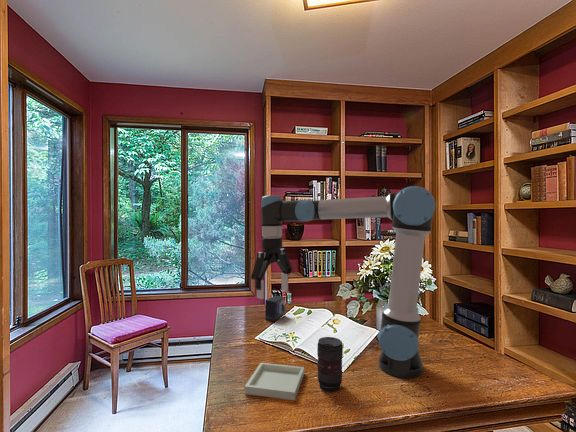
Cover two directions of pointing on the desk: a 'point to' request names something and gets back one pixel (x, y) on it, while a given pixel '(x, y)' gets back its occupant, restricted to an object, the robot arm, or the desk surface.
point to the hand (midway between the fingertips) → (273, 294)
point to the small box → (274, 308)
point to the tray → (275, 381)
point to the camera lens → (329, 363)
